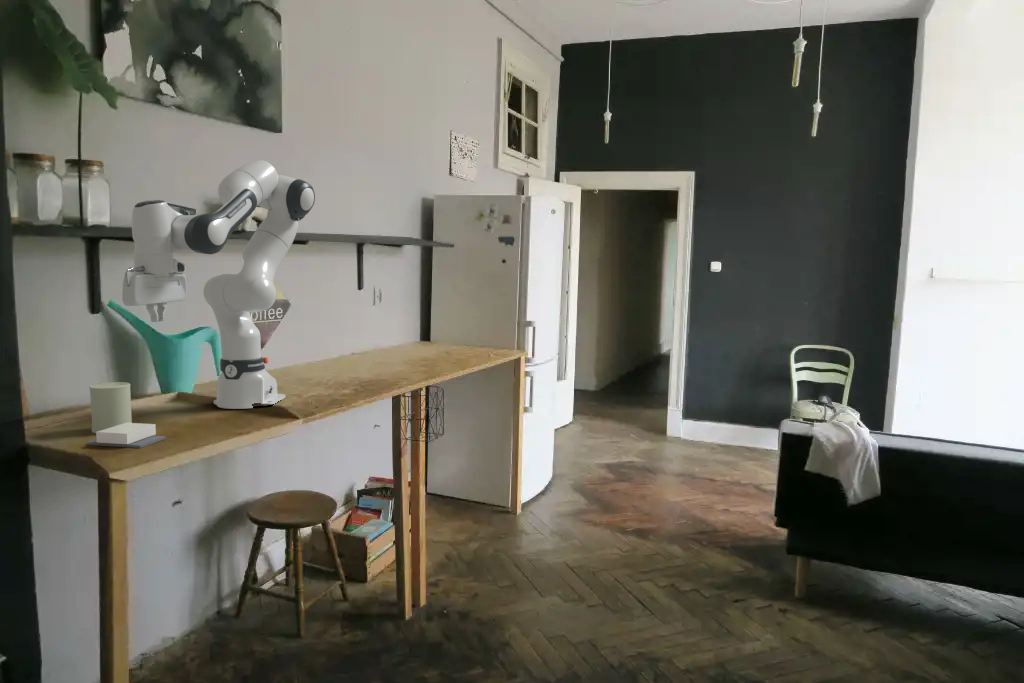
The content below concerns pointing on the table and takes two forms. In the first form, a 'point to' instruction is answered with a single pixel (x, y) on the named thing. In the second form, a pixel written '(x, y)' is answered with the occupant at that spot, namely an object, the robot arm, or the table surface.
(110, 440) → the white box
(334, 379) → the table surface
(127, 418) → the pale green cylinder
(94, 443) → the mat
